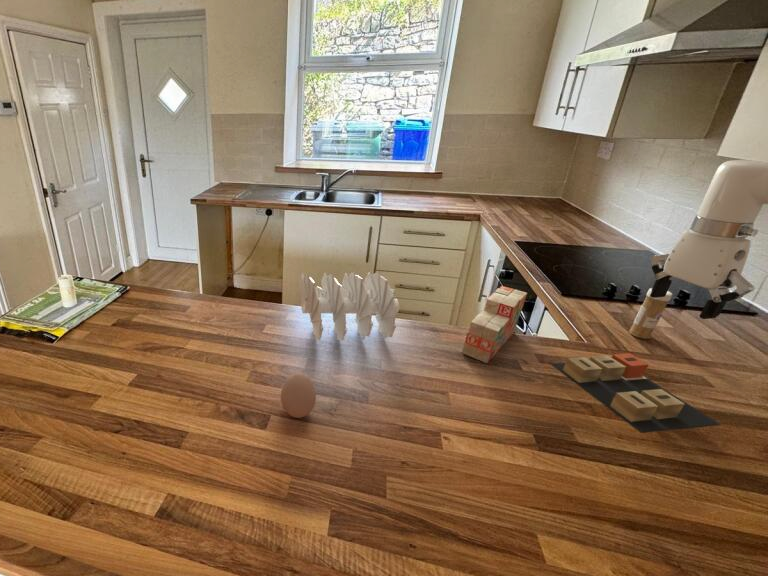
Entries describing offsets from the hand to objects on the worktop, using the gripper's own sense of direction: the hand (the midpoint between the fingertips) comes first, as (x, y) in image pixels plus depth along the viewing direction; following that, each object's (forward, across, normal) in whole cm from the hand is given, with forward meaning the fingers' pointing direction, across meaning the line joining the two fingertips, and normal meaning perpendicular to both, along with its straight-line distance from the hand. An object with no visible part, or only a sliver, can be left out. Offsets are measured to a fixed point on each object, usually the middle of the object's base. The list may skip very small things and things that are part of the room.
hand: (680, 306), depth 84 cm
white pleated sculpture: (+17, +26, +62) cm, 70 cm away
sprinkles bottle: (+19, +17, -18) cm, 31 cm away
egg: (+17, -2, +82) cm, 84 cm away
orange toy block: (+18, +2, +3) cm, 18 cm away
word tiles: (+18, -4, +12) cm, 22 cm away
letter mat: (+19, -4, +9) cm, 21 cm away
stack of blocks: (+18, +18, +26) cm, 37 cm away
